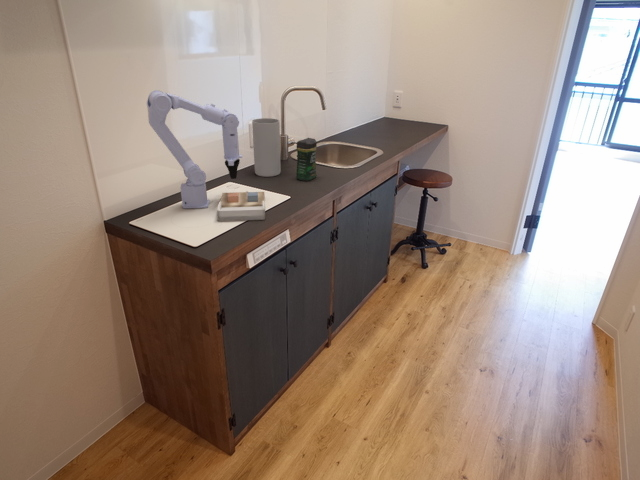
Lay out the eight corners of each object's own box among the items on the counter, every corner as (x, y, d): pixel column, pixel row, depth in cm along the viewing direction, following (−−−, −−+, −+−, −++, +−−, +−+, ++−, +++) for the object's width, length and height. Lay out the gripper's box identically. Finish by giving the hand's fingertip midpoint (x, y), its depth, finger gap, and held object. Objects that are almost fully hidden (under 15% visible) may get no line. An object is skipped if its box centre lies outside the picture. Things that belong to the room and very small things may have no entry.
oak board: (220, 211, 159) (219, 205, 158) (222, 198, 171) (222, 192, 170) (264, 210, 161) (264, 204, 160) (264, 197, 173) (264, 191, 172)
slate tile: (247, 201, 162) (247, 195, 161) (247, 198, 165) (247, 192, 164) (258, 201, 162) (257, 195, 161) (258, 197, 166) (257, 191, 165)
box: (218, 221, 151) (216, 211, 149) (220, 211, 159) (219, 201, 157) (265, 219, 153) (264, 209, 151) (264, 210, 161) (264, 200, 159)
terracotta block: (228, 202, 161) (227, 196, 160) (228, 198, 164) (228, 192, 163) (238, 202, 161) (238, 196, 160) (239, 198, 165) (238, 192, 164)
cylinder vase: (278, 168, 210) (276, 117, 199) (282, 176, 199) (281, 123, 188) (253, 170, 207) (250, 118, 196) (256, 178, 196) (253, 123, 185)
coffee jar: (308, 182, 192) (308, 142, 183) (293, 179, 195) (293, 139, 187) (318, 177, 199) (319, 138, 191) (305, 174, 203) (305, 135, 194)
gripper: (240, 149, 155) (243, 183, 162) (242, 140, 168) (244, 172, 174) (221, 149, 155) (224, 184, 161) (224, 140, 167) (227, 172, 174)
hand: (233, 178), depth 168 cm, fingers closed
